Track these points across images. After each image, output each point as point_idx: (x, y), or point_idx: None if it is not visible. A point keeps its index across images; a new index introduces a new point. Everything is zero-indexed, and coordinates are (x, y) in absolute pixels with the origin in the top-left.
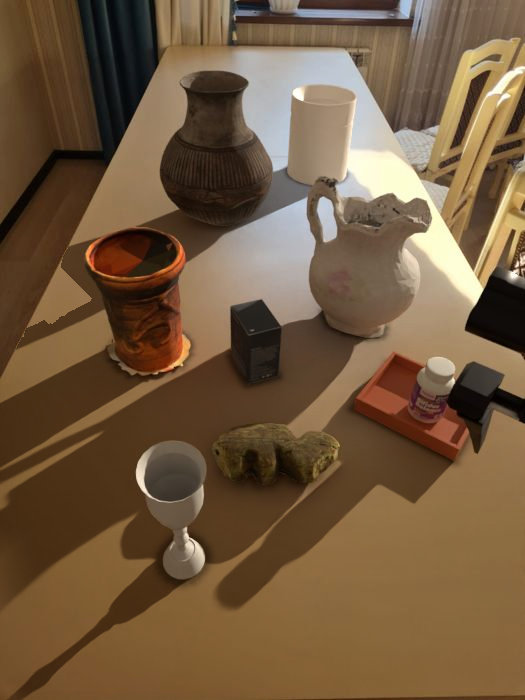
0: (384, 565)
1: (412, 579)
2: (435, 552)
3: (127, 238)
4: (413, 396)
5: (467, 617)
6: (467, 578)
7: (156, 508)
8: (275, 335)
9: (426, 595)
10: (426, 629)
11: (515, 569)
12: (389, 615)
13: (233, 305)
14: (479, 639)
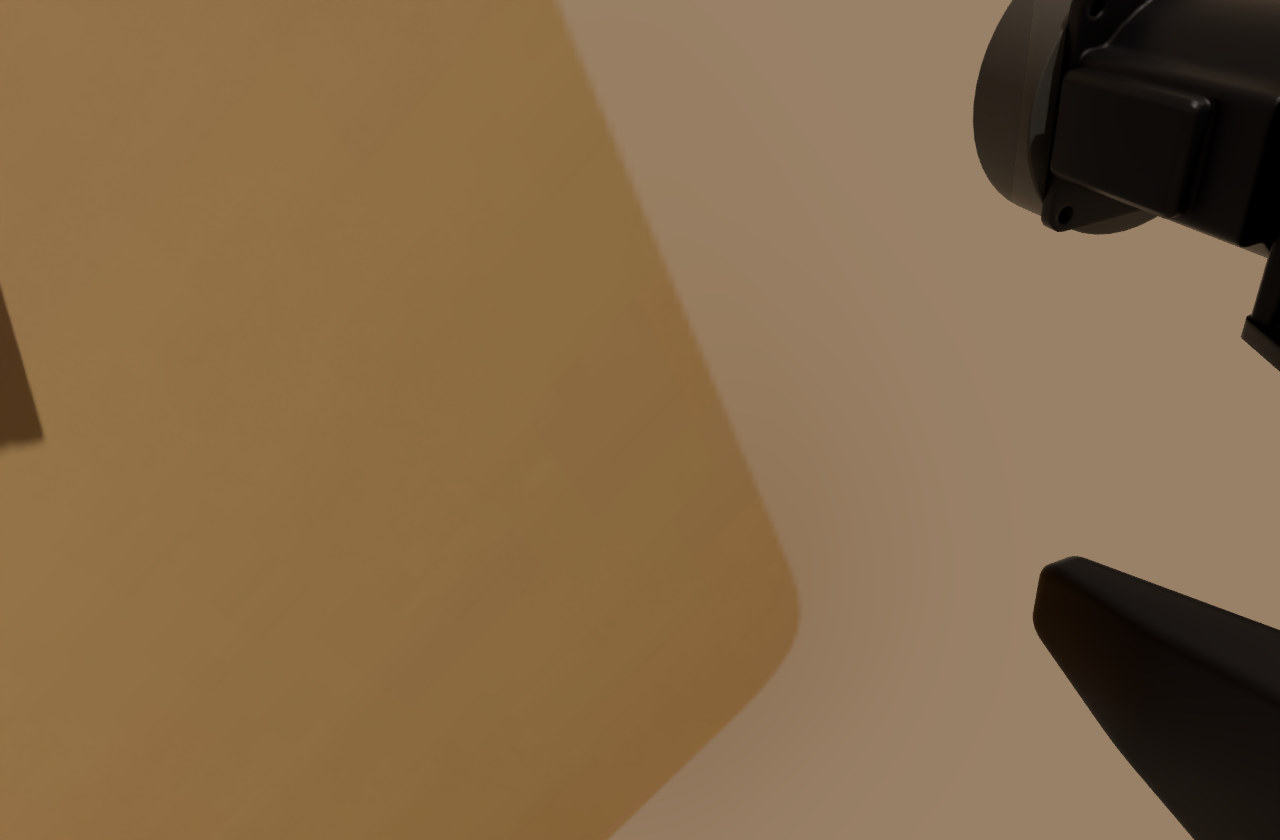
0: (241, 748)
1: (368, 693)
2: (353, 546)
3: None
4: None
5: (607, 620)
6: (530, 520)
7: None
8: None
9: (450, 686)
10: (523, 748)
11: (669, 323)
12: (401, 818)
13: None
14: (672, 635)
